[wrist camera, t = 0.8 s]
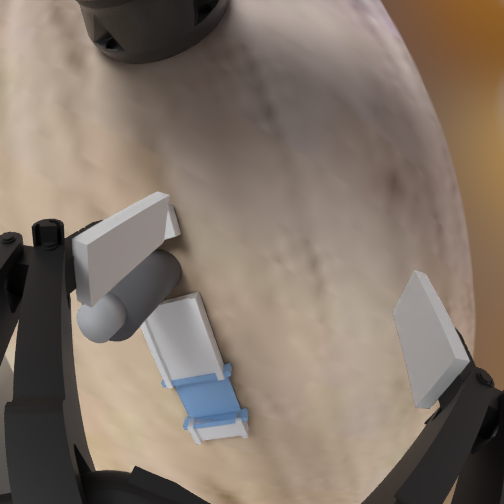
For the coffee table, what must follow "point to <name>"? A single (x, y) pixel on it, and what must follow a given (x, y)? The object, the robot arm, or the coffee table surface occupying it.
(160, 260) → the cable plug
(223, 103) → the coffee table surface
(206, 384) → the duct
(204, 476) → the coffee table surface
